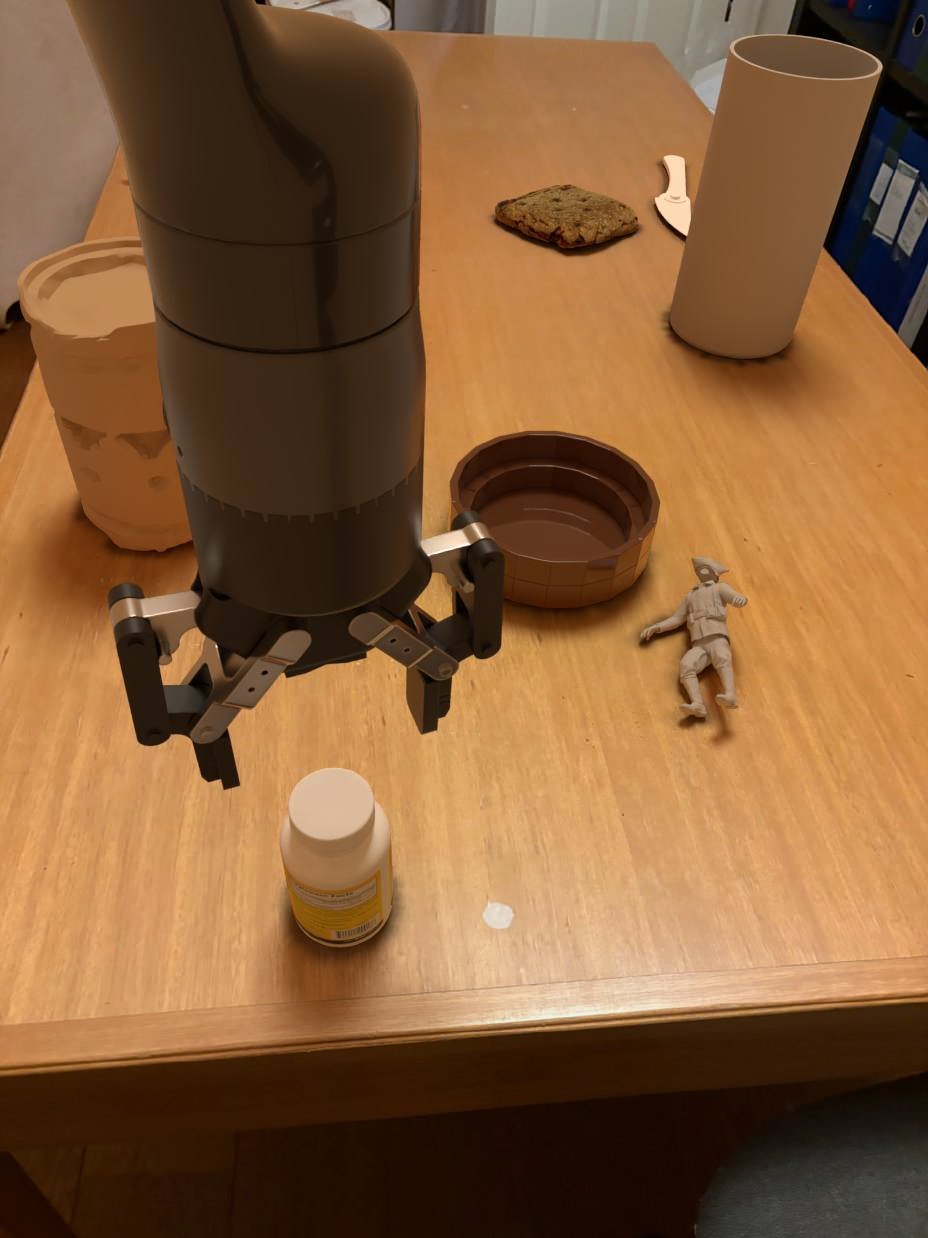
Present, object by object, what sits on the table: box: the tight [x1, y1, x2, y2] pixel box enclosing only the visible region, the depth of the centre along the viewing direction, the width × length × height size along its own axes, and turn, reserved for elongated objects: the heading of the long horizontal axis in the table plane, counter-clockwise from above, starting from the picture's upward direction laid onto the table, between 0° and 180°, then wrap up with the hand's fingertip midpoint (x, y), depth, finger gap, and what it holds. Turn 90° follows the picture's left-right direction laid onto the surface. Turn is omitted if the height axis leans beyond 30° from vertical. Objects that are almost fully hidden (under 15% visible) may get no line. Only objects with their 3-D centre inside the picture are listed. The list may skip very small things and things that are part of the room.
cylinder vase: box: [669, 33, 883, 360], centre depth 86 cm, size 12×12×25 cm
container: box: [16, 235, 193, 553], centre depth 66 cm, size 13×13×18 cm
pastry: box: [494, 183, 639, 249], centre depth 111 cm, size 17×17×3 cm
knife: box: [654, 154, 692, 237], centre depth 118 cm, size 26×4×1 cm, turn 171°
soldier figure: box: [639, 556, 749, 718], centre depth 63 cm, size 8×5×12 cm
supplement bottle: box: [279, 767, 394, 948], centre depth 46 cm, size 5×5×10 cm
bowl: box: [447, 430, 661, 609], centre depth 69 cm, size 15×15×5 cm
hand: (328, 743), depth 40 cm, fingers open, 8 cm apart
